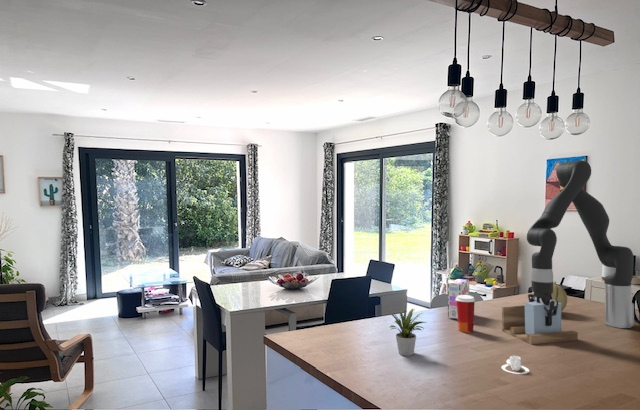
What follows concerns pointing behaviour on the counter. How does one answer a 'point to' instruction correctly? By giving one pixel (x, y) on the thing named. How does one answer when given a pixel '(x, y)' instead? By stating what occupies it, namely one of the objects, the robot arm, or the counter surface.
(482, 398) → the counter surface
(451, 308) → the candy box
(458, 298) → the paper cup
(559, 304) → the panel
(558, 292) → the cantaloupe
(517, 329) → the track
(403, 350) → the house plant
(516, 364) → the teacup and saucer
